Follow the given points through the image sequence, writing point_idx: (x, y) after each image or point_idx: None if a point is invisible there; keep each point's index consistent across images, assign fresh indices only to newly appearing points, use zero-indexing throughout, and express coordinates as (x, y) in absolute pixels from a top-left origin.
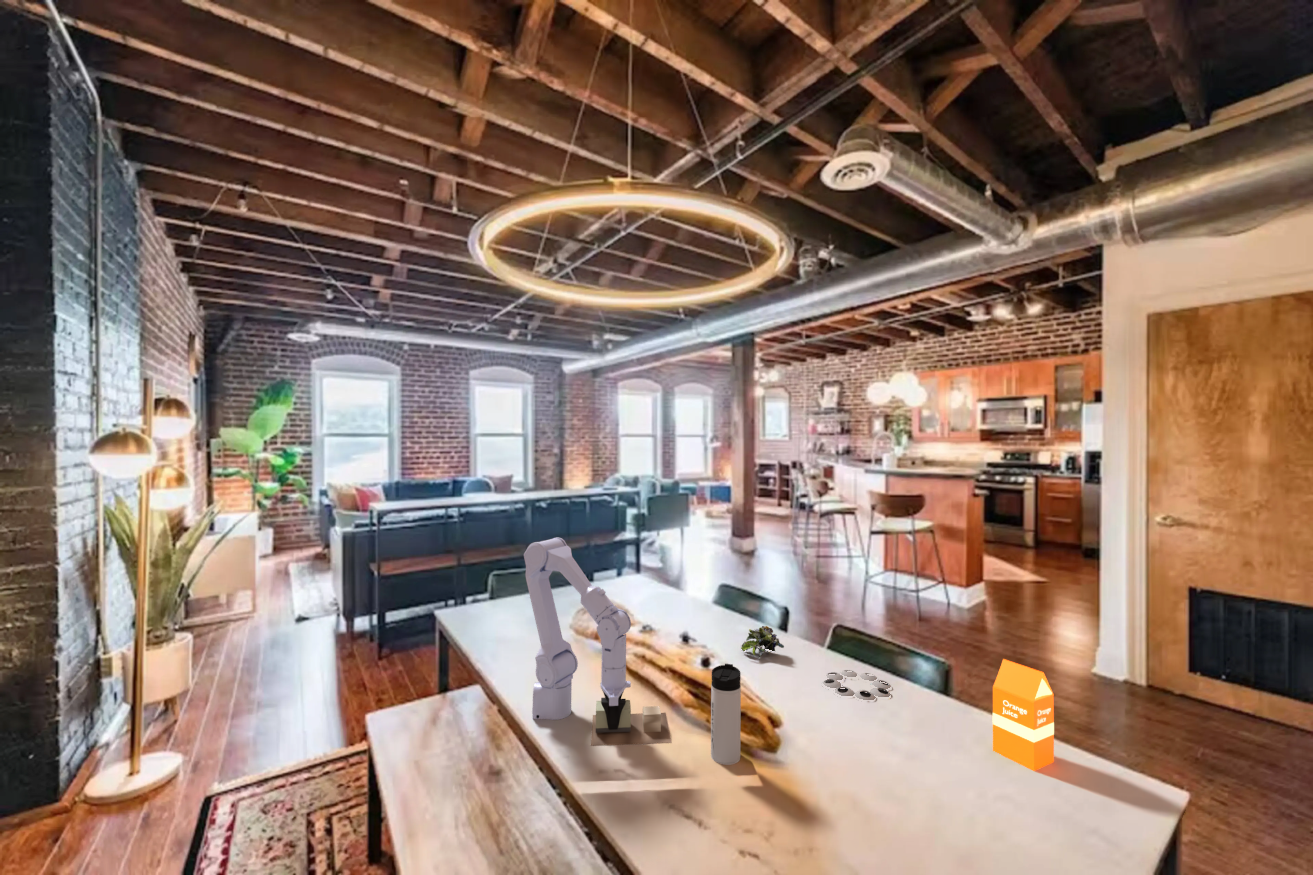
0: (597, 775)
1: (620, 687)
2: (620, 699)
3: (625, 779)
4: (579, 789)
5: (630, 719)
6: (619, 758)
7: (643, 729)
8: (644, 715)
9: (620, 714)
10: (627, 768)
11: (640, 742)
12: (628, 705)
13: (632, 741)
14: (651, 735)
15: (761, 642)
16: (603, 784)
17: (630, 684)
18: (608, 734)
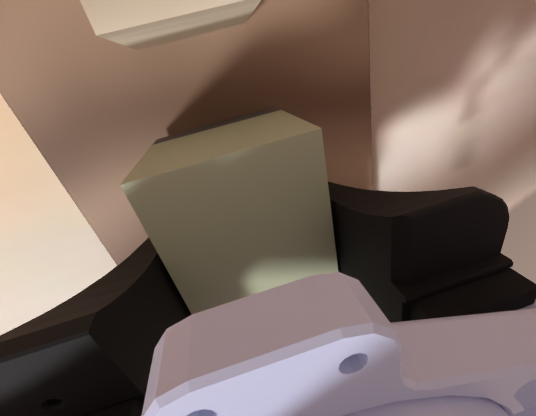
0: (481, 165)
1: (499, 405)
2: (422, 260)
3: (528, 62)
4: (525, 192)
5: (294, 117)
6: (401, 118)
7: (230, 26)
8: None
9: (369, 190)
10: (468, 68)
11: (354, 27)
12: (243, 168)
13: (344, 78)
14: None
15: None
16: (528, 134)
17: (365, 317)
18: None
